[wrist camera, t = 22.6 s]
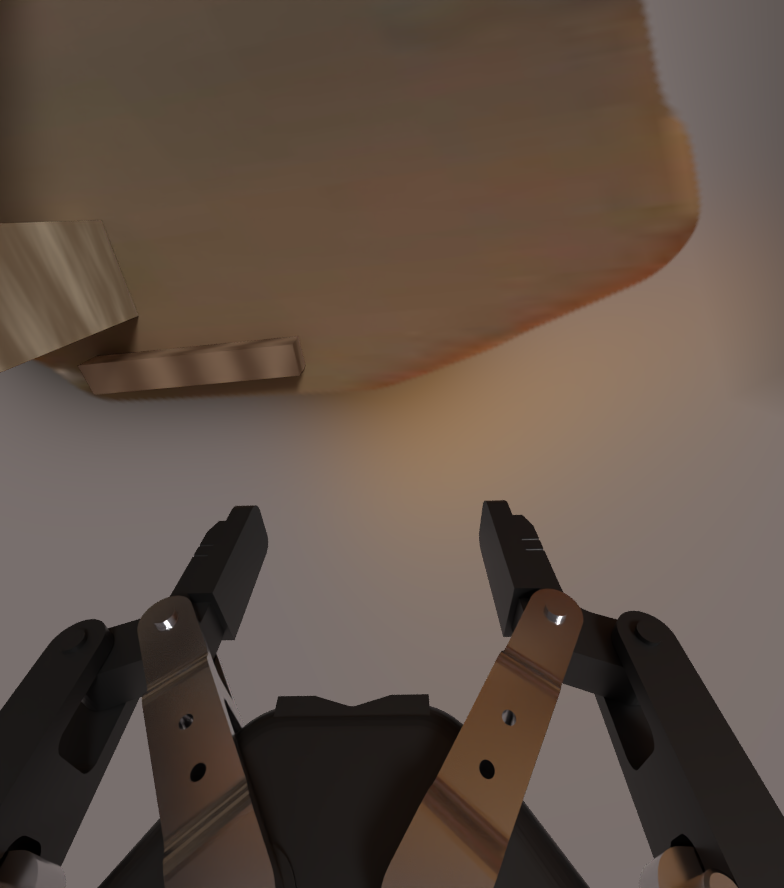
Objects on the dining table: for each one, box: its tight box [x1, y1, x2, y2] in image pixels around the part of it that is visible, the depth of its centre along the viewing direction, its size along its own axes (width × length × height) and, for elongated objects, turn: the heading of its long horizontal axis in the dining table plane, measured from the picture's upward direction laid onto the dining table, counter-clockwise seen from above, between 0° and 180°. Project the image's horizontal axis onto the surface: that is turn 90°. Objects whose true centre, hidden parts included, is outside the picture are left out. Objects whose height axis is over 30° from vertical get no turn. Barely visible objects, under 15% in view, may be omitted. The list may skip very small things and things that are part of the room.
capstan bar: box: [78, 336, 306, 395], centre depth 42 cm, size 24×4×4 cm, turn 96°
